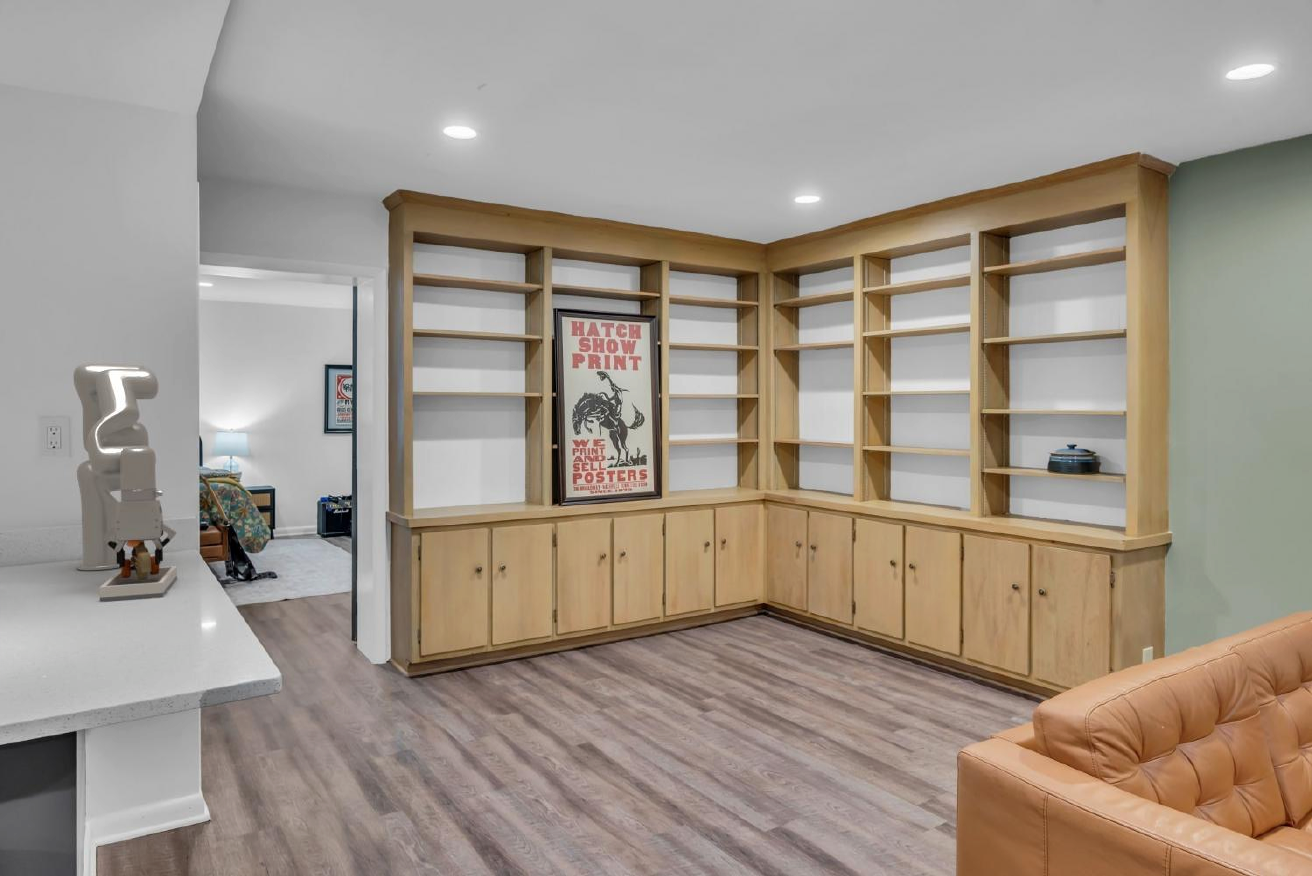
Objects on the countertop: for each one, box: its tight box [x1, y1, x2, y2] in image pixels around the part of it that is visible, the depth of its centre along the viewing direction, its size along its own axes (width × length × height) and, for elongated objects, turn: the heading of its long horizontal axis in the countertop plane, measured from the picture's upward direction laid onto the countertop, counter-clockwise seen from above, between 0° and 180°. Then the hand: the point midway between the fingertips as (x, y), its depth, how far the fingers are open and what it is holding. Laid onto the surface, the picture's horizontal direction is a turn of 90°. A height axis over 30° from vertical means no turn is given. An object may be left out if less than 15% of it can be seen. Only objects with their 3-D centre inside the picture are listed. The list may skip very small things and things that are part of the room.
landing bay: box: [98, 565, 178, 602], centre depth 206 cm, size 23×13×4 cm, turn 23°
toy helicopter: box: [120, 541, 160, 580], centre depth 206 cm, size 8×21×14 cm, turn 38°
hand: (140, 565), depth 206 cm, fingers closed on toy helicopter, 7 cm apart
